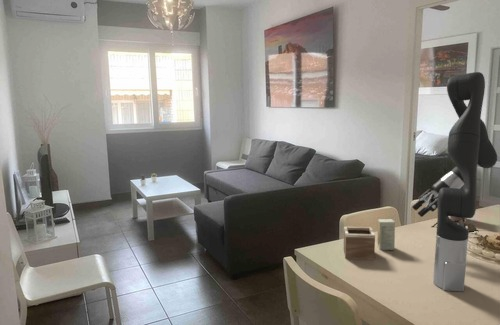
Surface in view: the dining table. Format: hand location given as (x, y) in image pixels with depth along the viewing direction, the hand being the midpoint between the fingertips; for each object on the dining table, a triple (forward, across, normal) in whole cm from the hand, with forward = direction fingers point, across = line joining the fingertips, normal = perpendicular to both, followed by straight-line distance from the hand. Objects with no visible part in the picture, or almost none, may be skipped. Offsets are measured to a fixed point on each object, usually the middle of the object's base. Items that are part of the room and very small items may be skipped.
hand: (416, 211), depth 151 cm
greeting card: (-12, -40, +36) cm, 55 cm away
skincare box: (+20, 0, +3) cm, 20 cm away
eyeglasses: (-4, -25, +29) cm, 38 cm away
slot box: (+28, +8, -6) cm, 30 cm away
